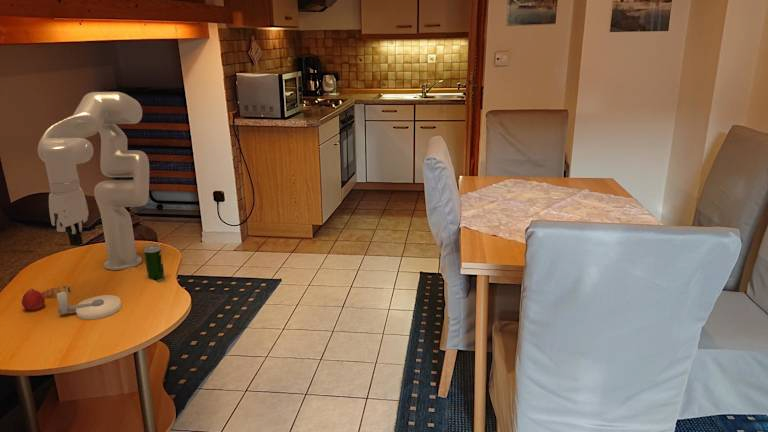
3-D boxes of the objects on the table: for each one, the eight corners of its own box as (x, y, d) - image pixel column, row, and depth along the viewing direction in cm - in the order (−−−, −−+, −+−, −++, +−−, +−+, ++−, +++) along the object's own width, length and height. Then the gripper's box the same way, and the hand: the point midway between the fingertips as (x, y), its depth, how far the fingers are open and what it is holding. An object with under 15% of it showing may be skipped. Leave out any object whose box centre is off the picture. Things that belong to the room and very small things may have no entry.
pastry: (36, 305, 170) (34, 294, 168) (39, 296, 175) (37, 286, 174) (70, 300, 173) (68, 289, 172) (72, 291, 179) (70, 281, 178)
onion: (23, 317, 162) (18, 293, 159) (25, 309, 166) (20, 285, 164) (46, 313, 164) (41, 289, 162) (47, 305, 169) (42, 282, 166)
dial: (122, 298, 171) (119, 278, 169) (119, 315, 160) (116, 294, 158) (63, 306, 165) (59, 285, 163) (56, 325, 155) (51, 303, 153)
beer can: (150, 283, 184) (145, 250, 181) (146, 278, 189) (142, 246, 185) (166, 280, 187) (162, 247, 184) (163, 274, 192) (158, 243, 188)
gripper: (74, 178, 165) (84, 234, 171) (33, 192, 152) (46, 252, 158) (94, 180, 163) (105, 237, 170) (55, 194, 150) (67, 255, 156)
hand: (76, 244), depth 164 cm, fingers closed
